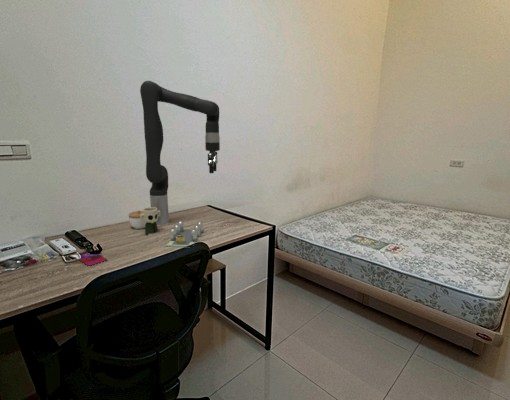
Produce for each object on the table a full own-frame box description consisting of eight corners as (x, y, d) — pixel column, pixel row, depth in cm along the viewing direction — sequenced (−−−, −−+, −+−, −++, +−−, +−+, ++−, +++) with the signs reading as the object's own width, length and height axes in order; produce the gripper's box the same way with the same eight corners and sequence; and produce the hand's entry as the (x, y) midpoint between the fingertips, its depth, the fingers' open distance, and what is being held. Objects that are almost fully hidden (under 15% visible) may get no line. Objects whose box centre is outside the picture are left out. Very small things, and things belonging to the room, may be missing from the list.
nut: (176, 244, 134) (176, 238, 133) (175, 241, 138) (175, 235, 137) (185, 243, 135) (185, 237, 134) (184, 240, 139) (184, 234, 139)
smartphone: (88, 266, 113) (71, 255, 122) (88, 268, 113) (71, 257, 122) (108, 259, 119) (91, 249, 128) (108, 261, 119) (91, 251, 128)
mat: (165, 248, 132) (165, 245, 132) (181, 230, 155) (181, 228, 155) (192, 249, 131) (191, 246, 131) (203, 231, 155) (203, 228, 154)
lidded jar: (127, 226, 161) (125, 209, 159) (146, 223, 168) (145, 207, 165) (132, 231, 153) (131, 214, 151) (153, 228, 159) (152, 211, 157)
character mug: (145, 237, 145) (143, 212, 142) (138, 234, 149) (136, 209, 146) (164, 232, 153) (163, 208, 150) (157, 229, 157) (156, 205, 154)
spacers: (169, 241, 138) (169, 229, 137) (179, 230, 152) (178, 220, 151) (196, 241, 138) (195, 230, 136) (203, 231, 152) (203, 221, 151)
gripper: (208, 140, 163) (208, 170, 166) (202, 141, 149) (203, 173, 153) (221, 141, 162) (222, 170, 166) (217, 142, 148) (217, 174, 152)
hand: (213, 172), depth 159 cm, fingers open, 8 cm apart
